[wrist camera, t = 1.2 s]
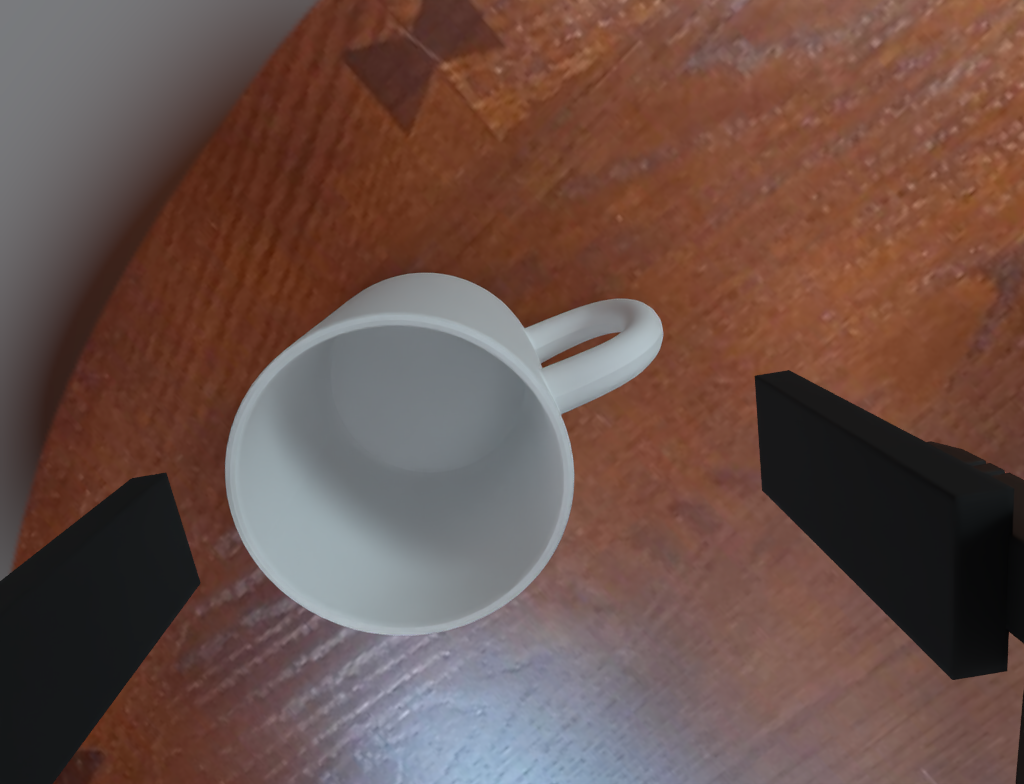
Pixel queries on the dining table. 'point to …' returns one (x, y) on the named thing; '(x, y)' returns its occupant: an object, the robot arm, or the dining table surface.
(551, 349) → the cup
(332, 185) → the dining table surface
